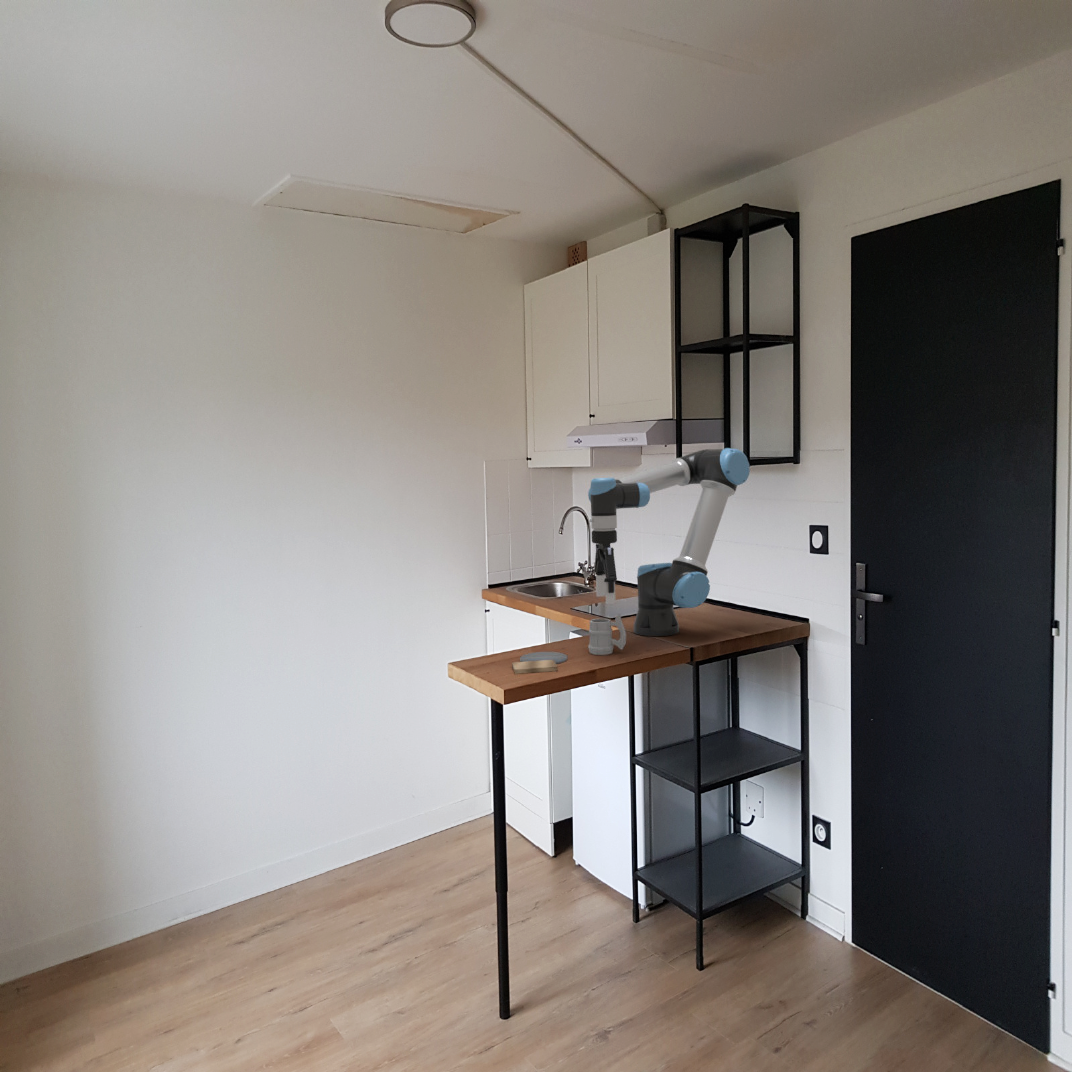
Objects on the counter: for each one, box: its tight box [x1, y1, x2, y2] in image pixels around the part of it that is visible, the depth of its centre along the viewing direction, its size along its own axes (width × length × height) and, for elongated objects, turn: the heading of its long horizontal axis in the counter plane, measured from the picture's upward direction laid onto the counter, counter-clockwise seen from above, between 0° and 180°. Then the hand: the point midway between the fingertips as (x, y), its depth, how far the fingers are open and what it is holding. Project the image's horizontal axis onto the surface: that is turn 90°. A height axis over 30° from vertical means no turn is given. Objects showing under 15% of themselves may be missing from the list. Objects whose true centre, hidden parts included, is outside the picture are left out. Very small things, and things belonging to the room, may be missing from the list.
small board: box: [511, 660, 559, 675], centre depth 227 cm, size 12×8×1 cm, turn 97°
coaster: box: [519, 651, 568, 665], centre depth 237 cm, size 14×14×1 cm
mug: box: [587, 613, 627, 656], centre depth 242 cm, size 8×12×12 cm, turn 72°
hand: (605, 600), depth 241 cm, fingers open, 13 cm apart
